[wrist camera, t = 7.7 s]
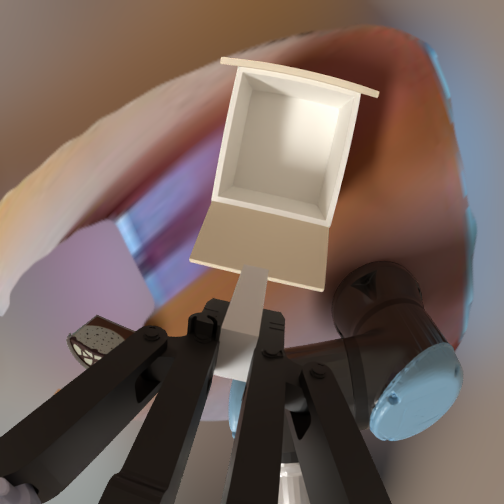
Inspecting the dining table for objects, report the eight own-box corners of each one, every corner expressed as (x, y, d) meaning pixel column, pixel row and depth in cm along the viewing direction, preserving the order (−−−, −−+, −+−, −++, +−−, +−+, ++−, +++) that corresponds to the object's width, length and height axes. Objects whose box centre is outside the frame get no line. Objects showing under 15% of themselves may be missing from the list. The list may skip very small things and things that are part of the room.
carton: (343, 106, 34) (361, 93, 25) (319, 209, 40) (329, 227, 30) (249, 86, 35) (238, 66, 25) (229, 188, 40) (211, 200, 31)
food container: (92, 334, 53) (67, 361, 44) (91, 312, 51) (63, 338, 42) (141, 356, 53) (121, 388, 44) (143, 334, 51) (119, 366, 42)
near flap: (360, 93, 25) (361, 88, 25) (377, 98, 19) (379, 91, 18) (239, 66, 25) (239, 61, 25) (220, 63, 19) (221, 57, 19)
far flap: (324, 289, 26) (322, 292, 27) (329, 227, 30) (327, 230, 31) (189, 258, 27) (190, 261, 27) (212, 200, 31) (212, 204, 31)
